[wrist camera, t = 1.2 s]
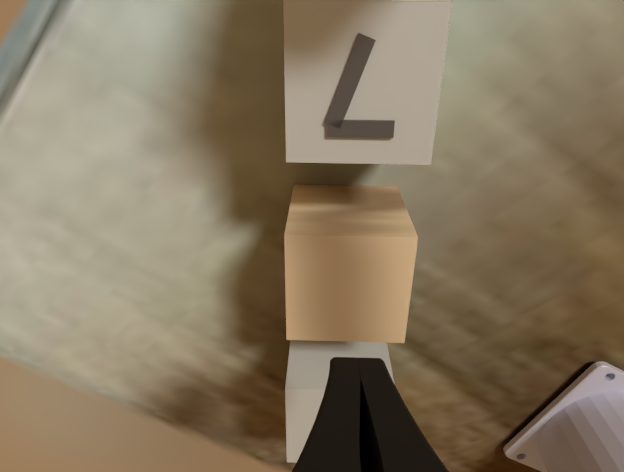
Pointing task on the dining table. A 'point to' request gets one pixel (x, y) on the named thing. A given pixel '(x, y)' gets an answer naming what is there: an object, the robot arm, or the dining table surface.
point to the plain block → (348, 264)
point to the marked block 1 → (316, 382)
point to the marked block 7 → (363, 79)
